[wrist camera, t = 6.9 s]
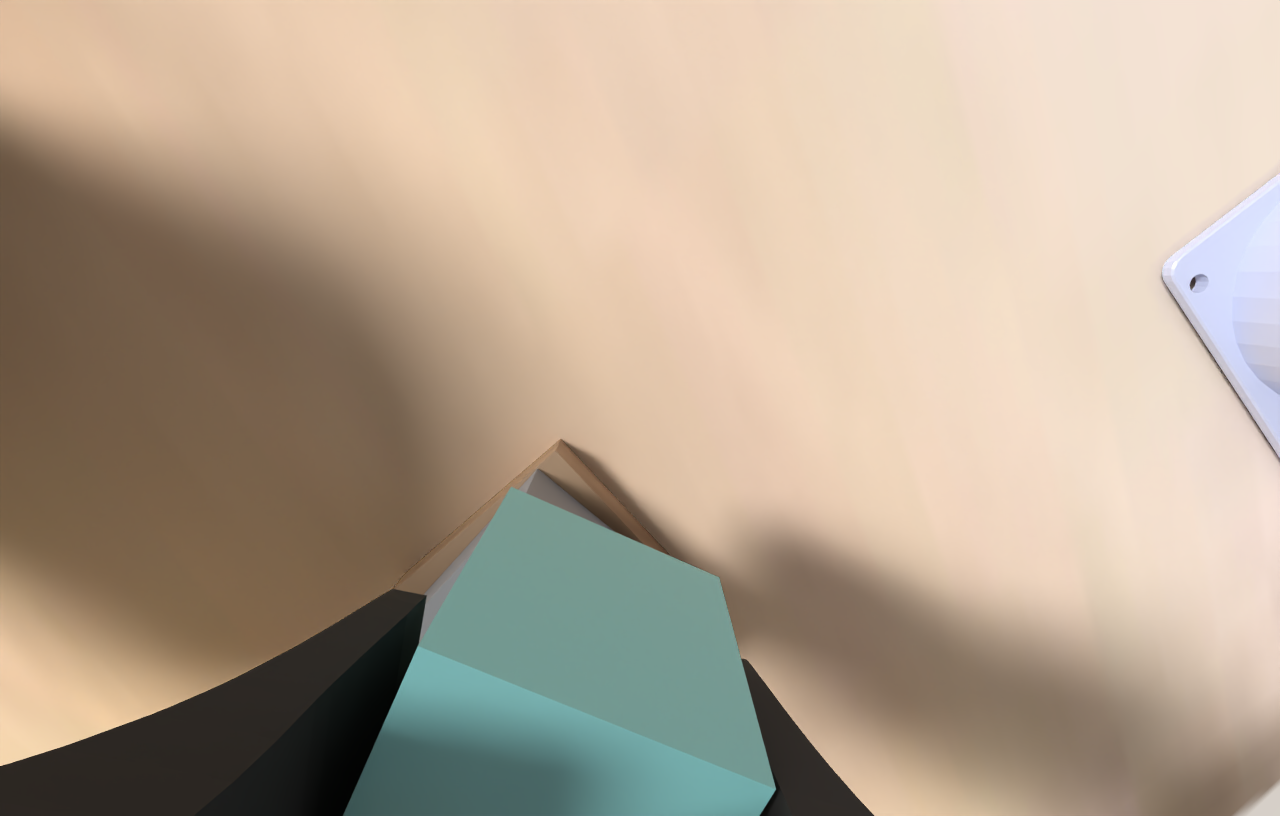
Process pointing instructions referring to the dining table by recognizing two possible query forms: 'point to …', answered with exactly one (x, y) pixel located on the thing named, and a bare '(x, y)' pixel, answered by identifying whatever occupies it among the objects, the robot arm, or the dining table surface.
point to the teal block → (571, 686)
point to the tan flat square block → (552, 463)
